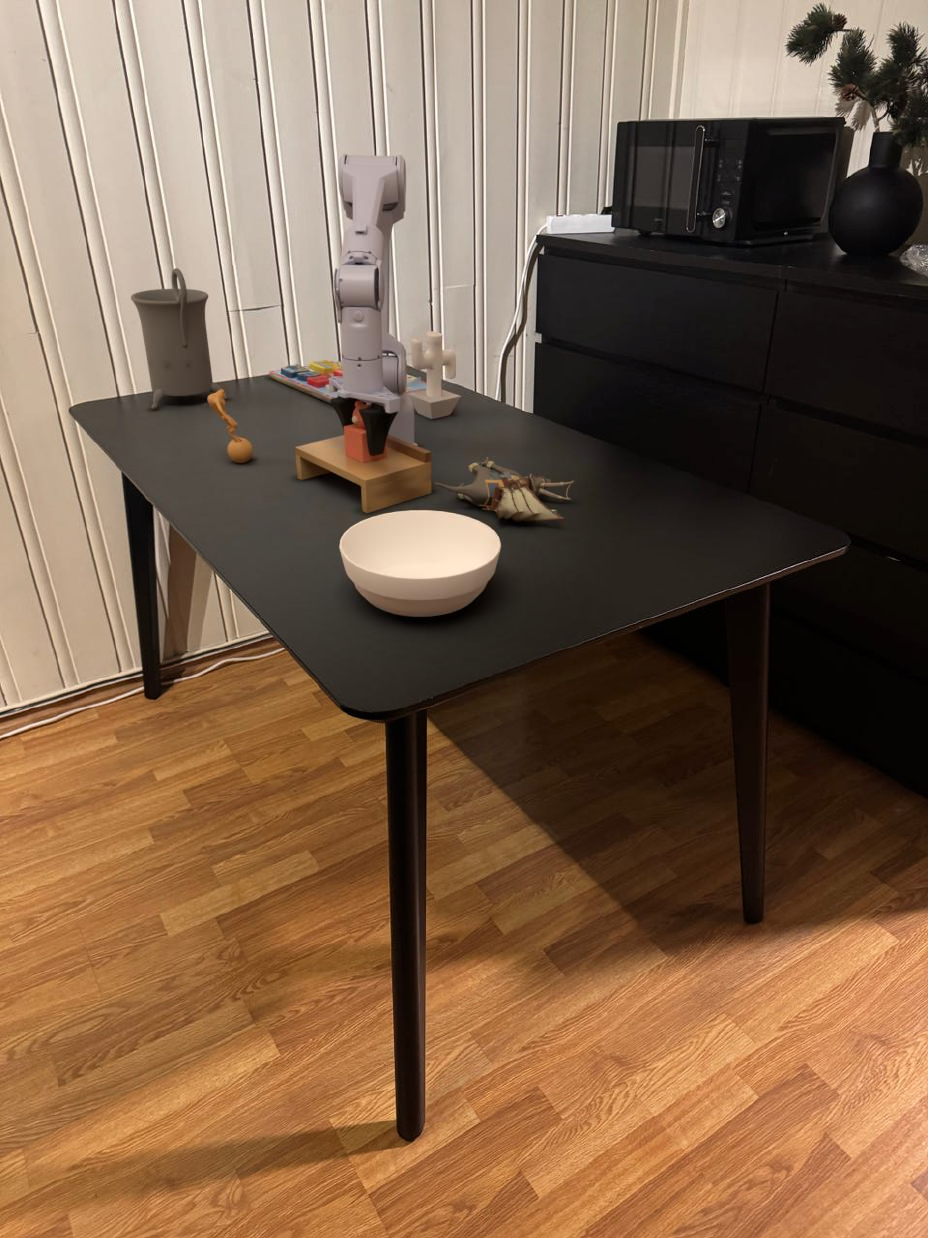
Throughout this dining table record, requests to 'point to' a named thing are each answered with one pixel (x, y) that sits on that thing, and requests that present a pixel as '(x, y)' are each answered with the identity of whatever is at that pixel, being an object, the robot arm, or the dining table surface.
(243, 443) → the figurine
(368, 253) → the robot arm
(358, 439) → the orange box
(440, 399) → the figurine
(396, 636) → the dining table surface
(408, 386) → the puzzle board
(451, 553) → the bowl
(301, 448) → the shelf
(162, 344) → the grey footed cauldron
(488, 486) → the figurine
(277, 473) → the dining table surface
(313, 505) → the dining table surface
